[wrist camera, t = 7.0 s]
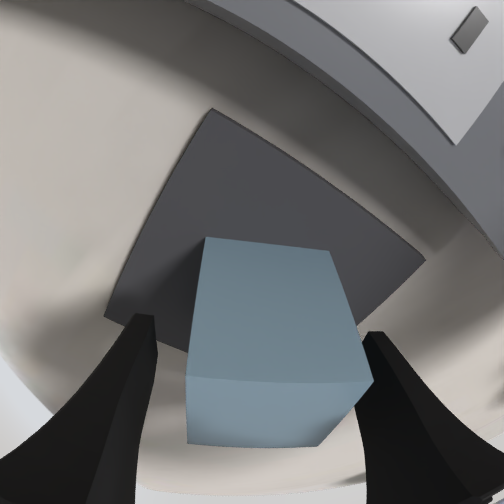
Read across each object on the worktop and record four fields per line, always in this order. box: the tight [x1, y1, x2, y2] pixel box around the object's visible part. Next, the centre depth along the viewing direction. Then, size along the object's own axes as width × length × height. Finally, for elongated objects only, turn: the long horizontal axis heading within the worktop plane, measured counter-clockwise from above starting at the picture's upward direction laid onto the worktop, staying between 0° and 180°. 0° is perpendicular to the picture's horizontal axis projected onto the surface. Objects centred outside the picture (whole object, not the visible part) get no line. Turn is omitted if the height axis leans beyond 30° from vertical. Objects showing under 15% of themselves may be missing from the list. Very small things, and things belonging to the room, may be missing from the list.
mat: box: [104, 108, 426, 353], centre depth 13 cm, size 10×10×1 cm
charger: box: [185, 237, 374, 448], centre depth 10 cm, size 4×4×6 cm
